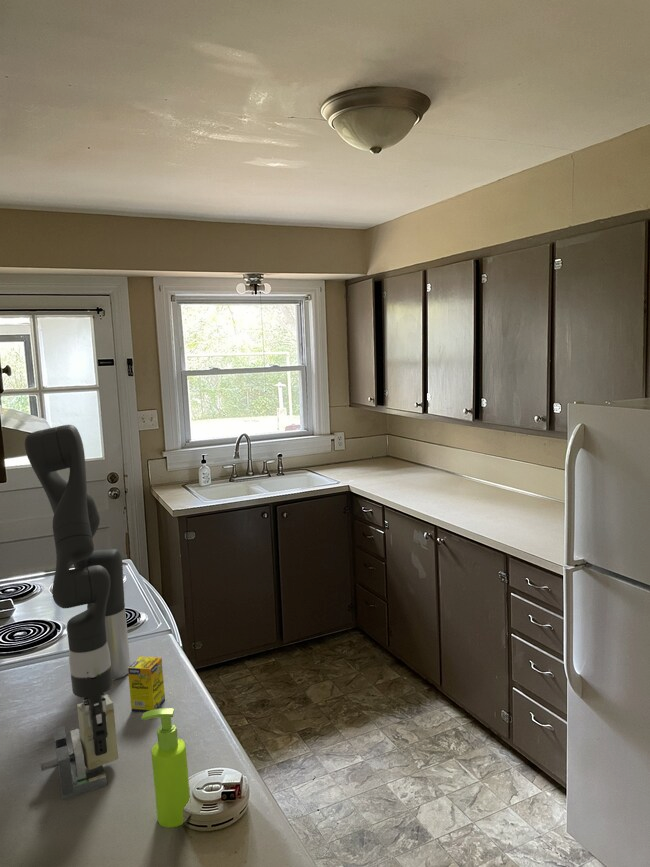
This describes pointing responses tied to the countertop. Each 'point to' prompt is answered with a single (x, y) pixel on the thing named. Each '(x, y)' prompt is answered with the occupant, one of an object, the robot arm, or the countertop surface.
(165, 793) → the soap dispenser
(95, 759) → the skincare box
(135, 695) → the supplement box
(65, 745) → the grey bracket with rod
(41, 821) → the countertop surface
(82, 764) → the grey t-shaped piece
